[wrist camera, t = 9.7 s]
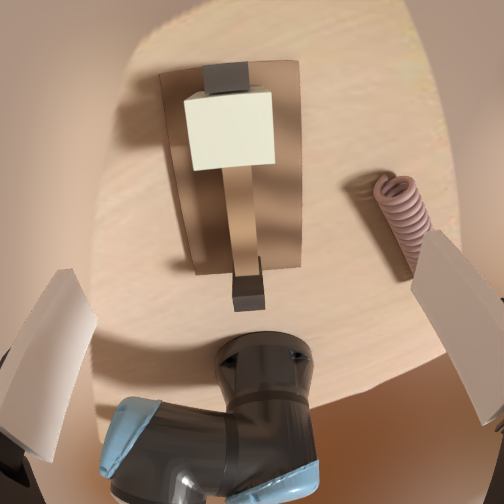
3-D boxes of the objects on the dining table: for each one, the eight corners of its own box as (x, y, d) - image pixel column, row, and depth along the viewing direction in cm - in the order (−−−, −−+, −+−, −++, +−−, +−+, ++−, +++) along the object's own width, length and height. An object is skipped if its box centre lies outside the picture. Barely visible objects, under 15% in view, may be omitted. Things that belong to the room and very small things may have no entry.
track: (299, 262, 35) (310, 305, 30) (196, 271, 36) (189, 314, 30) (297, 60, 23) (315, 60, 17) (161, 73, 23) (137, 77, 17)
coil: (378, 205, 27) (426, 305, 35) (419, 181, 25) (455, 289, 33) (365, 183, 30) (415, 281, 39) (401, 162, 29) (442, 266, 37)
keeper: (266, 139, 26) (275, 163, 20) (204, 145, 26) (193, 170, 21) (263, 85, 23) (271, 92, 18) (197, 91, 23) (183, 100, 18)
